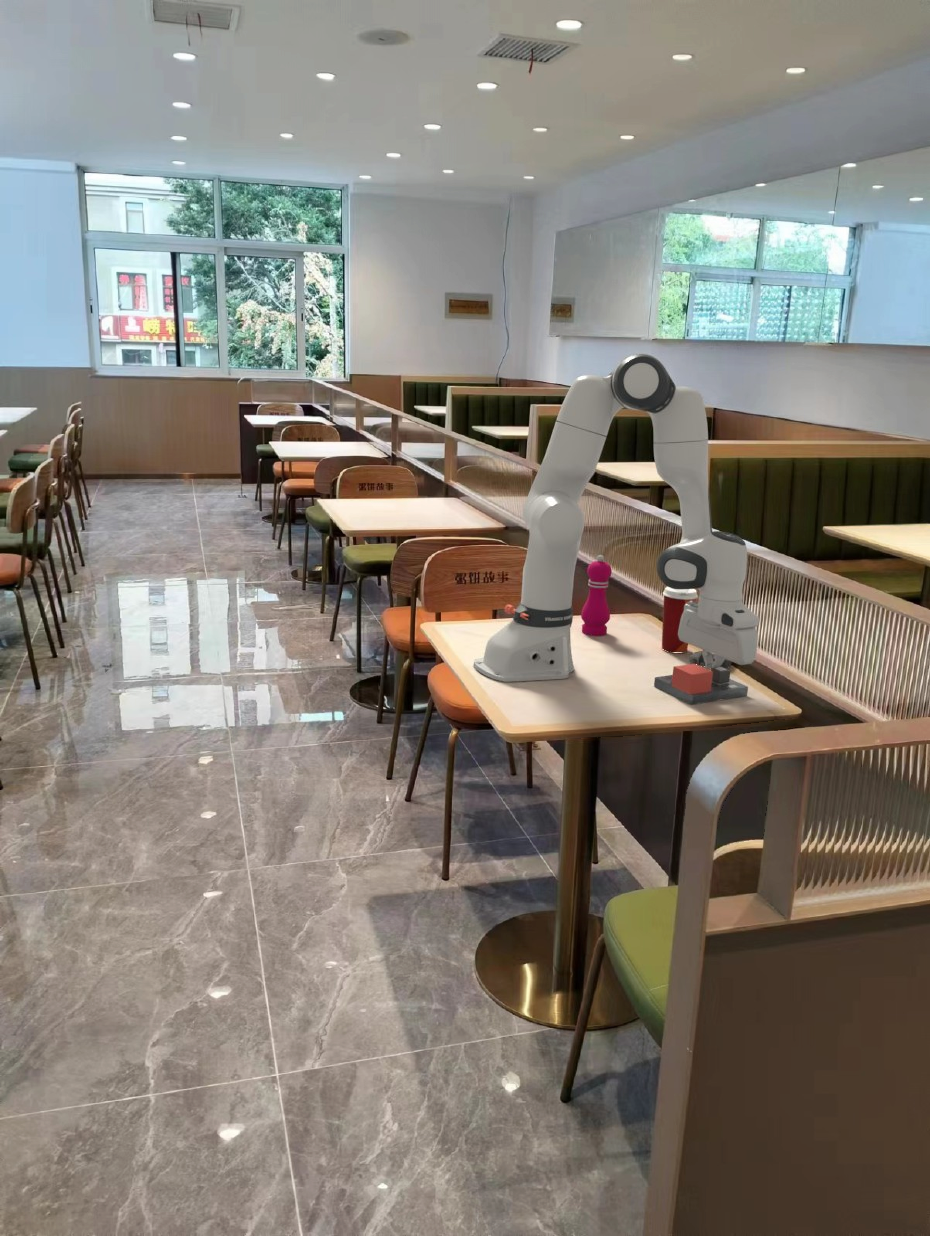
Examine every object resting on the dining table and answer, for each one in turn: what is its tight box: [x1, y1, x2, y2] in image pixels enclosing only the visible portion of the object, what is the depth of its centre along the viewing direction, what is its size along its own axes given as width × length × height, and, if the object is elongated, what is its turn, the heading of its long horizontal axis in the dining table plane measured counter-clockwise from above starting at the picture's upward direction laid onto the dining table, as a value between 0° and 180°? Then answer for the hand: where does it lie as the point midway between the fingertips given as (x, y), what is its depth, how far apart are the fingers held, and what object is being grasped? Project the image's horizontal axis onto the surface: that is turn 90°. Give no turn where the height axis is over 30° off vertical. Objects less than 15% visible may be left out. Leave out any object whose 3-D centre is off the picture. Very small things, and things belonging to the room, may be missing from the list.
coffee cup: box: [661, 586, 699, 653], centre depth 230 cm, size 8×8×15 cm
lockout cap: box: [671, 663, 713, 694], centre depth 197 cm, size 6×6×4 cm
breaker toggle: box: [711, 667, 731, 683], centre depth 203 cm, size 3×3×3 cm
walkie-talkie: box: [688, 650, 733, 670], centre depth 221 cm, size 9×4×20 cm
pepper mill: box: [580, 554, 612, 637], centre depth 240 cm, size 7×7×20 cm
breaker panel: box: [653, 674, 749, 705], centre depth 202 cm, size 15×12×3 cm
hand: (711, 672), depth 205 cm, fingers closed
